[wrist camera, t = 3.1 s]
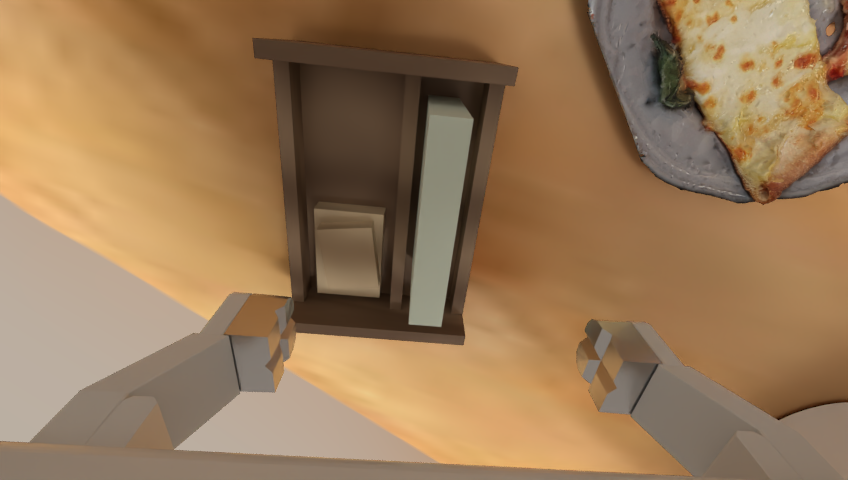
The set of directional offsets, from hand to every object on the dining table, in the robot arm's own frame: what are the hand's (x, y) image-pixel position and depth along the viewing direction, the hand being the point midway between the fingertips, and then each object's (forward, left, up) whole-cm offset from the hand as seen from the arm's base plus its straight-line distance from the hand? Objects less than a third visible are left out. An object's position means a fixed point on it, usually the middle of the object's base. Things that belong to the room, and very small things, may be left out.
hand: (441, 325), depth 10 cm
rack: (-2, +3, -16) cm, 16 cm away
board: (-1, 0, -15) cm, 15 cm away
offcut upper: (-6, +5, -14) cm, 15 cm away
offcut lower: (-6, +5, -15) cm, 17 cm away
